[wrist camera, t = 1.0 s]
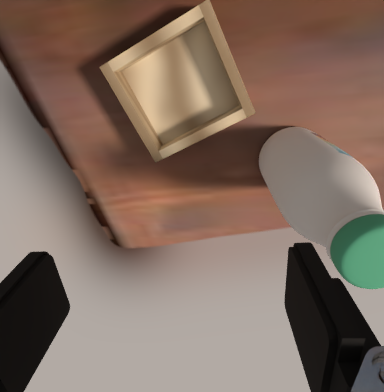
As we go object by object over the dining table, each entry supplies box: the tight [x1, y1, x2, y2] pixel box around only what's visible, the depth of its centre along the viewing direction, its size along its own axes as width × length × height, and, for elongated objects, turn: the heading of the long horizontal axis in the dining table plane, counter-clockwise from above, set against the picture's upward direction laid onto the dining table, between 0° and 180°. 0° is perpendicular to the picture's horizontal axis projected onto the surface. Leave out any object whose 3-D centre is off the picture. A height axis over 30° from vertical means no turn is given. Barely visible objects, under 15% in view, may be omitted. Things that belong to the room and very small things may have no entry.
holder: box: [99, 0, 255, 163], centre depth 30 cm, size 12×11×4 cm
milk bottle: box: [259, 127, 384, 289], centre depth 25 cm, size 8×8×20 cm
